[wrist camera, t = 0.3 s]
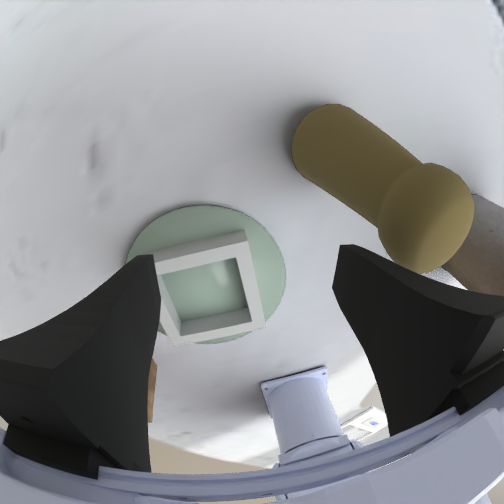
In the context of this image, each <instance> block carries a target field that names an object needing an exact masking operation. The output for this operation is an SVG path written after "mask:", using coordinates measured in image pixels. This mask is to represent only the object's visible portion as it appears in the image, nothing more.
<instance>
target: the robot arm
mask: <svg viewBox="0 0 504 504" xmlns="http://www.w3.org/2000/svg"><path fill="white" fill-rule="evenodd" d="M332 289H333V291H334V294H335V297H336V299H337V302H338V304H339V306H340V308H341V310H342V312H343V314H344V316H345V317H346V319H347V321H348V323H349V324H350V326H351V328H352V330H353V331H354V333H355V335H356V337H357V338H358V340H359V342H360V344H361V345H362V347H363V349H364V351H365V353H366V355H367V358H368V360H369V363H370V365H371V368H372V371H373V373H374V376H375V379H376V382H377V385H378V388H379V391H380V394H381V398H382V402H383V405H384V409H385V413H386V418H387V423H388V428H389V433H390V437H389V438H386V439H384V440H381V441H378V442H376V443H373V444H370V445H367V446H363V444H362V443H361V442H360V441H357V440H355V439H352V440H350V441H349V439H348V437H347V435H344V434H343V431H342V428H341V426H340V423H339V421H338V418H337V415H336V413H335V410H334V408H333V405H332V402H331V400H330V397H329V395H328V392H327V383H328V368H327V367H325V366H324V367H321V368H317V369H314V370H310V371H307V372H303V373H300V374H296V375H292V376H288V377H284V378H280V379H276V380H272V381H268V382H264V383H262V384H261V389H262V392H263V395H264V398H265V401H266V404H267V407H268V410H269V413H270V416H271V418H273V422H274V426H275V430H276V435H277V439H278V443H279V448H280V452H281V455H279V456H278V457H279V461H280V462H279V463H275V464H274V467H273V468H272V469H266V470H259V471H250V472H240V473H227V474H202V475H183V474H160V473H151V466H150V455H149V443H148V382H149V372H150V366H151V361H152V355H153V350H154V346H155V341H156V336H157V331H158V326H159V321H160V311H161V295H160V290H159V284H158V279H157V274H156V268H155V262H154V256H153V254H149V255H137V256H136V257H134V258H133V259H132V260H130V261H129V262H128V263H127V264H126V265H124V266H123V267H122V268H121V269H120V270H119V271H117V272H116V273H115V274H114V275H113V276H112V277H111V278H109V279H108V280H107V281H106V282H104V283H103V284H102V285H101V286H99V287H98V288H97V289H96V290H94V291H93V292H92V293H91V294H89V295H88V296H87V297H85V298H84V299H83V300H81V301H80V302H78V303H77V304H75V305H74V306H72V307H71V308H69V309H68V310H66V311H64V312H63V313H61V314H59V315H57V316H55V317H54V318H52V319H50V320H48V321H47V322H45V323H43V324H41V325H39V326H37V327H35V328H33V329H30V330H28V331H26V332H23V333H21V334H19V335H16V336H13V337H10V338H8V339H5V340H2V341H0V416H1V417H2V418H3V419H4V420H5V421H6V422H7V423H8V424H9V425H8V428H7V431H5V430H3V429H2V428H0V504H198V503H193V502H215V501H234V500H245V499H255V498H263V497H270V496H275V497H276V500H277V501H276V502H270V503H265V504H491V501H490V499H489V497H488V495H487V492H488V491H489V490H490V489H491V488H492V487H494V486H495V485H496V484H497V483H498V482H499V481H500V480H501V479H502V478H503V477H504V350H503V349H504V296H499V295H490V294H483V293H478V292H473V291H469V290H465V289H461V288H457V287H454V286H450V285H447V284H444V283H441V282H438V281H435V280H433V279H430V278H427V277H425V276H422V275H420V274H418V273H415V272H413V271H411V270H409V269H407V268H404V267H402V266H400V265H398V264H396V263H394V262H392V261H390V260H388V259H386V258H384V257H382V256H380V255H378V254H376V253H374V252H372V251H369V250H367V249H365V248H362V247H360V246H357V245H354V244H351V245H340V248H339V254H338V260H337V265H336V270H335V275H334V280H333V285H332ZM411 453H412V454H411ZM409 454H411V455H409ZM407 455H409V456H407ZM404 456H407V457H405V458H403V459H400V458H402V457H404ZM398 459H400V460H398ZM396 460H398V461H396ZM393 461H396V462H394V463H392V464H389V463H391V462H393ZM386 464H389V465H387V466H384V465H386ZM381 466H384V467H382V468H380V469H377V470H374V469H376V468H379V467H381ZM373 470H374V471H373Z"/></svg>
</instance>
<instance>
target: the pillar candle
mask: <svg viewBox="0 0 504 504" xmlns="http://www.w3.org/2000/svg"><path fill="white" fill-rule="evenodd" d="M472 198H473V200H474V217H473V221H472V225H471V228H470V230H469V233H468V235H467V237H466V238H465V240H464V242H463V243H462V245H461V246H460V248H459V249H458V250H457V252H456V253H455V254H454V255H453V256H452V257H451V258H450V259H449V260H448V261H447V262H446V263H444V264H443V265H442V266H441V267H442V268H443V269H444V270H446V271H448V272H449V273H450V274H451V275H452V276H453V277H455V278H456V279H457V280H458V281H459V282H460V283H461V284H462V285H463V286H464V287H465V288H467V289H468V290H469V291H473V292H478V293H483V294H490V295H499V296H504V208H502V207H501V206H499V205H497V204H495V203H493V202H491V201H489V200H487V199H485V198H483V197H481V196H479V195H472Z"/></svg>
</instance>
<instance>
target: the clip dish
mask: <svg viewBox="0 0 504 504" xmlns="http://www.w3.org/2000/svg"><path fill="white" fill-rule="evenodd" d="M149 254H153V256H154V262H155V268H156V274H157V279H158V284H159V290H160V295H161V311H160V321H159V326H158V331H159V332H161V333H163V334H165V335H167V336H168V338H169V339H170V341H171V343H172V345H173V346H178V345H184V344H189V343H196V344H216V343H222V342H227V341H231V340H235V339H237V338H240V337H243V336H245V335H247V334H249V333H251V332H252V331H254V330H257V329H261V328H266V321H267V320H268V319H269V318H270V317H271V315H272V314H273V313H274V311H275V310H276V308H277V307H278V305H279V303H280V301H281V299H282V296H283V294H284V290H285V285H286V268H285V263H284V259H283V256H282V254H281V251H280V249H279V247H278V245H277V244H276V242H275V240H274V239H273V237H272V236H271V235H270V234H269V232H268V231H267V230H266V229H265V228H264V227H263V226H261V225H260V224H259V223H258V222H256V221H255V220H253V219H252V218H251V217H249V216H247V215H245V214H243V213H241V212H238V211H235V210H232V209H230V208H225V207H220V206H213V205H195V206H188V207H183V208H179V209H176V210H173V211H170V212H168V213H166V214H164V215H162V216H160V217H159V218H157V219H156V220H154V221H153V222H151V223H150V224H149V225H148V226H147V227H146V228H145V229H144V230H143V231H142V232H141V233H140V234H139V236H138V237H137V238H136V240H135V242H134V244H133V245H132V247H131V249H130V251H129V254H128V257H127V260H126V264H127V263H128V262H129V261H130V260H132V259H133V258H134V257H136V256H137V255H149Z"/></svg>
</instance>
